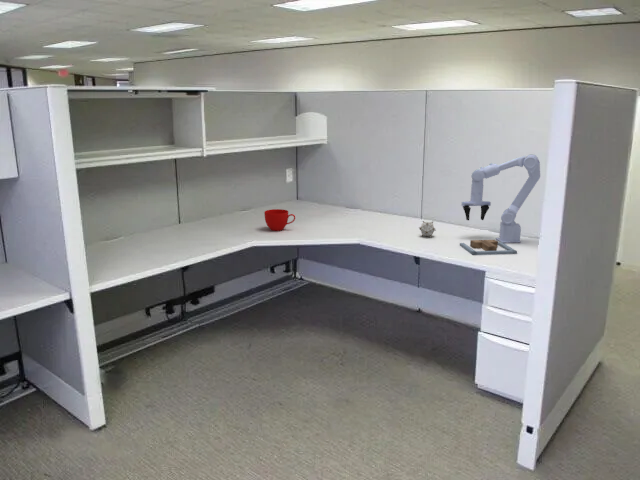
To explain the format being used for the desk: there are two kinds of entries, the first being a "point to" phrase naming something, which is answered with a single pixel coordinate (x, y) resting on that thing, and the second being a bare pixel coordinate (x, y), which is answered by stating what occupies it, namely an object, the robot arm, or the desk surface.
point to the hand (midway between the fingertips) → (474, 219)
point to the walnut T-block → (484, 244)
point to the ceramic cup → (277, 219)
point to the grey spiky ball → (427, 229)
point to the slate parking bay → (507, 251)
